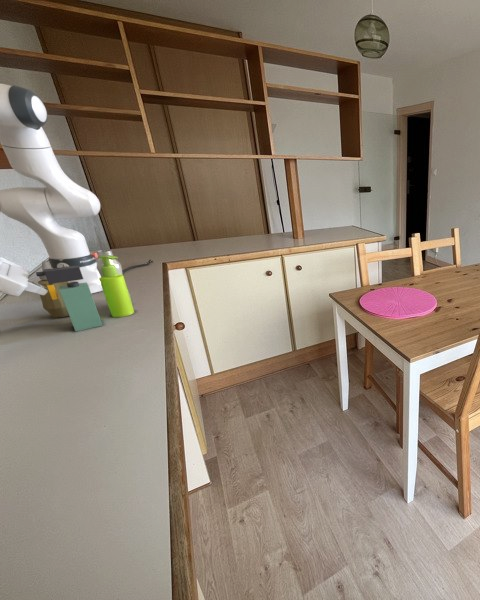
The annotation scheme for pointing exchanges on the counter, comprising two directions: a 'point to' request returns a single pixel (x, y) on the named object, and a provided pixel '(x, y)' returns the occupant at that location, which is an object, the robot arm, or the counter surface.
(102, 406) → the counter surface
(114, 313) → the soap dispenser
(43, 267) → the squeeze bottle
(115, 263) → the plastic bottle
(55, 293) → the block
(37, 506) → the counter surface
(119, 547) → the counter surface
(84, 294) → the spray bottle
